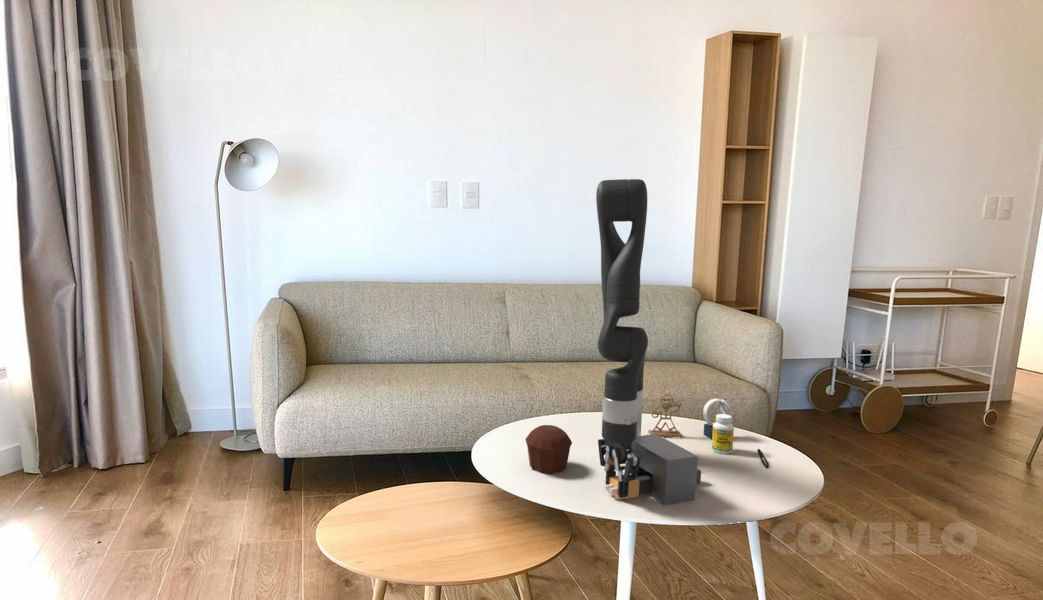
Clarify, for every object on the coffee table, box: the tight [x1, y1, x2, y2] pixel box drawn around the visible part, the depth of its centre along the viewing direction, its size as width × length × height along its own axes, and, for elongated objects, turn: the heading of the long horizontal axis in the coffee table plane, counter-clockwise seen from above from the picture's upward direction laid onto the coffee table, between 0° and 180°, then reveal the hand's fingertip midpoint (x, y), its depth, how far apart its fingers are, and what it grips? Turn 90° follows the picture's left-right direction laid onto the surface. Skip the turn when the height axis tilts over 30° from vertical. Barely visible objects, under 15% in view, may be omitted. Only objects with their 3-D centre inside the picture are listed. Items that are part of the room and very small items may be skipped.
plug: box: [604, 467, 702, 501], centre depth 156 cm, size 4×25×4 cm, turn 115°
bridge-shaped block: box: [631, 434, 699, 506], centre depth 156 cm, size 16×8×10 cm, turn 23°
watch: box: [702, 398, 733, 440], centre depth 194 cm, size 6×8×11 cm
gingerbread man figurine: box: [647, 393, 683, 439], centre depth 194 cm, size 9×4×12 cm, turn 90°
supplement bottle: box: [711, 413, 735, 455], centre depth 183 cm, size 5×5×10 cm
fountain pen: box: [756, 448, 769, 469], centre depth 178 cm, size 14×1×2 cm, turn 170°
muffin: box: [525, 424, 573, 475], centre depth 168 cm, size 12×11×10 cm
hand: (616, 491), depth 152 cm, fingers closed on plug, 4 cm apart
